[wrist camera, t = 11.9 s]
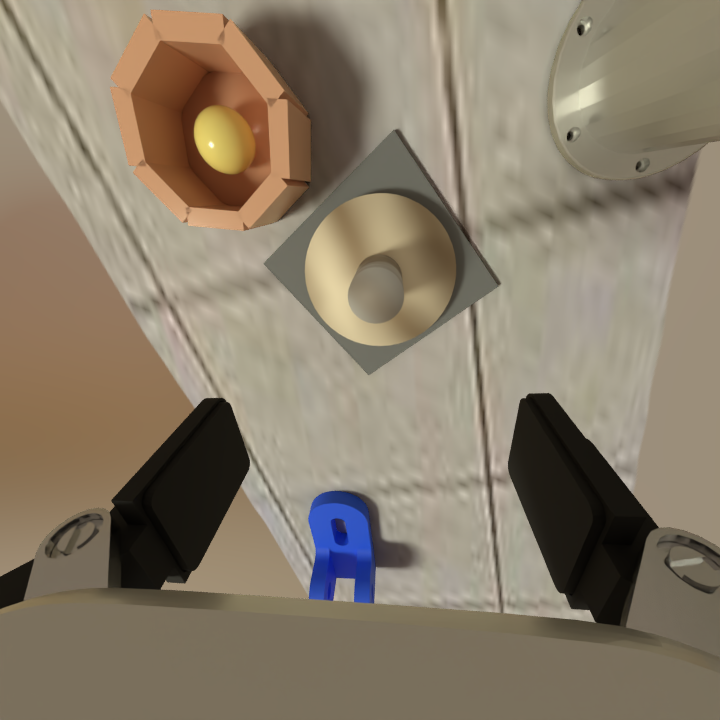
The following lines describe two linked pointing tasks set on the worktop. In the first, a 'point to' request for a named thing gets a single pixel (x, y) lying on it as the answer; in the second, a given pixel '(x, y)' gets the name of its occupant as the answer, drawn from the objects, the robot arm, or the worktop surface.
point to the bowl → (210, 122)
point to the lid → (380, 269)
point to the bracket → (342, 546)
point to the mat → (394, 176)
